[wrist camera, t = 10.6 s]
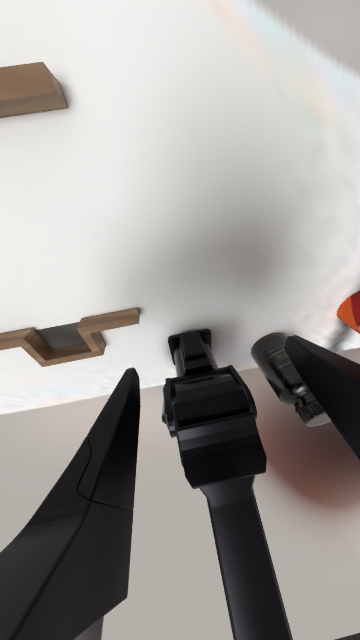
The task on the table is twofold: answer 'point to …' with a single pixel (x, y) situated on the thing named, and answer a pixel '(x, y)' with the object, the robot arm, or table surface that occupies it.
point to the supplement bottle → (287, 379)
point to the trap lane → (83, 337)
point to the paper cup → (351, 311)
